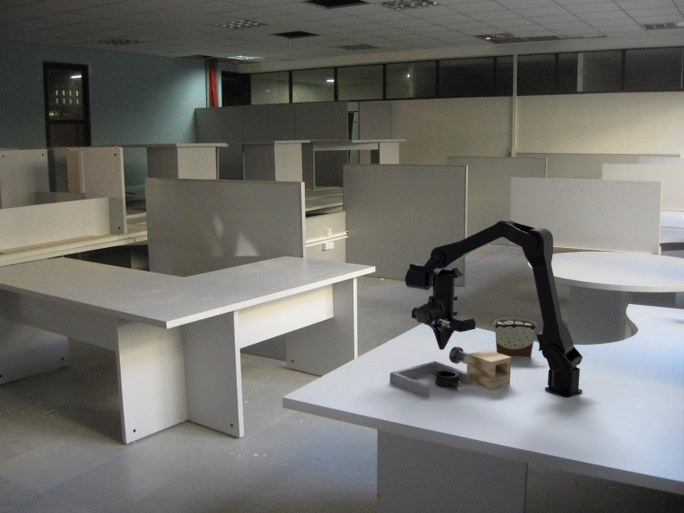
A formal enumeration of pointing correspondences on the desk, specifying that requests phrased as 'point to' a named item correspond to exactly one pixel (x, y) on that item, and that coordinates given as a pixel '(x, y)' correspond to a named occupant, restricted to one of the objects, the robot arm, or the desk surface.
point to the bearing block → (489, 369)
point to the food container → (515, 336)
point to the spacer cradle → (406, 375)
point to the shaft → (458, 355)
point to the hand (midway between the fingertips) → (441, 349)
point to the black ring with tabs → (447, 379)
